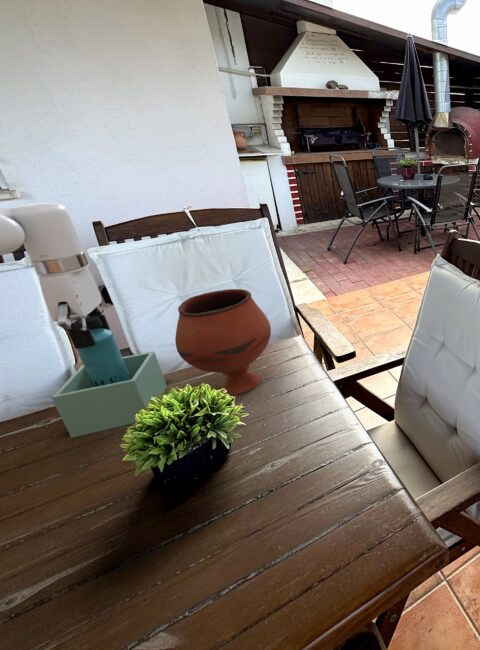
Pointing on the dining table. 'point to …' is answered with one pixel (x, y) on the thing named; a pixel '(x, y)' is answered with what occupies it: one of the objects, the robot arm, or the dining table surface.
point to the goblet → (223, 336)
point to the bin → (109, 397)
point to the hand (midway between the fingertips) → (93, 338)
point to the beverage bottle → (103, 356)
